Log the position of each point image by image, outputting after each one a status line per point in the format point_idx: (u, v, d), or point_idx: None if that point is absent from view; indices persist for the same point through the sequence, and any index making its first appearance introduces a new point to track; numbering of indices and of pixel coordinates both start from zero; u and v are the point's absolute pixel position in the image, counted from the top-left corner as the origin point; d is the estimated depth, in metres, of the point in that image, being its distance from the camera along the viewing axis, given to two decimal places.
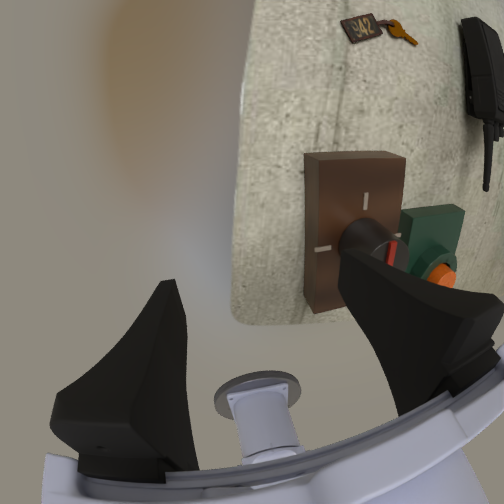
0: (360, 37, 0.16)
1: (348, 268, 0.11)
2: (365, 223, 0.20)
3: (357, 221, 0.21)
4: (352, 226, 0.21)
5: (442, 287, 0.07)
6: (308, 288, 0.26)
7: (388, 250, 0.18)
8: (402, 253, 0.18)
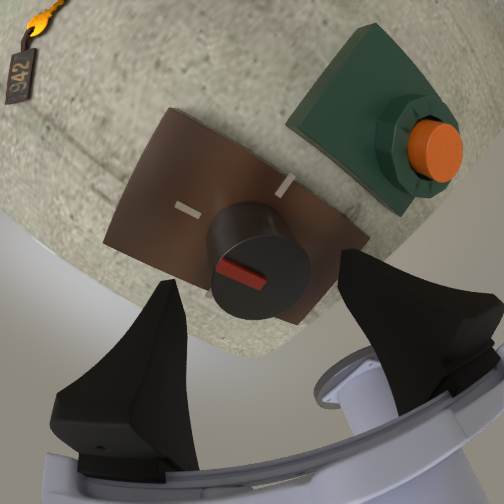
0: (27, 84, 0.10)
1: (348, 268, 0.11)
2: (209, 236, 0.14)
3: None
4: None
5: (442, 287, 0.07)
6: None
7: (231, 273, 0.11)
8: (262, 250, 0.11)
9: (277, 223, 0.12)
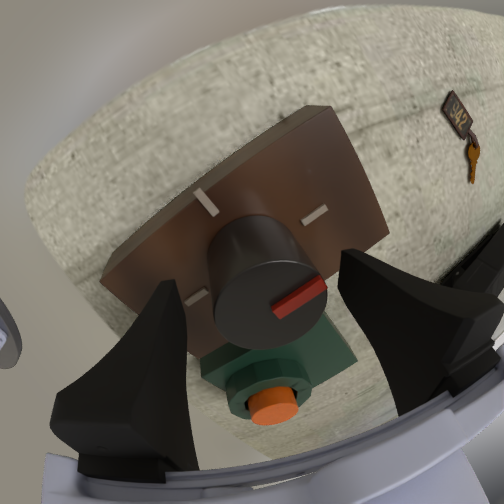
0: (450, 117, 0.14)
1: (348, 268, 0.11)
2: (291, 234, 0.12)
3: (281, 223, 0.13)
4: (271, 220, 0.12)
5: (442, 287, 0.07)
6: (126, 245, 0.14)
7: (302, 287, 0.10)
8: (308, 316, 0.11)
9: None
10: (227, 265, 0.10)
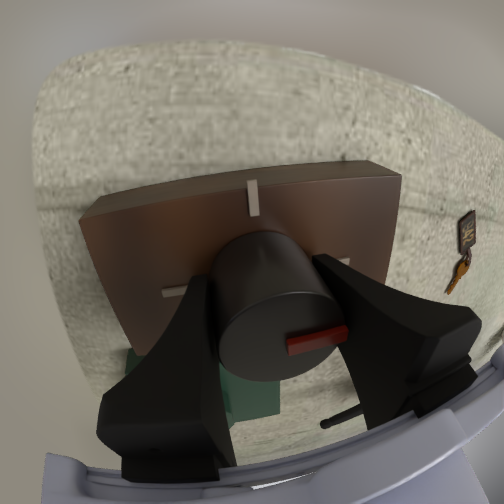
0: (461, 231, 0.17)
1: None
2: None
3: None
4: (302, 249, 0.11)
5: (412, 298, 0.07)
6: (126, 197, 0.11)
7: (325, 331, 0.09)
8: (308, 361, 0.09)
9: None
10: (265, 277, 0.08)
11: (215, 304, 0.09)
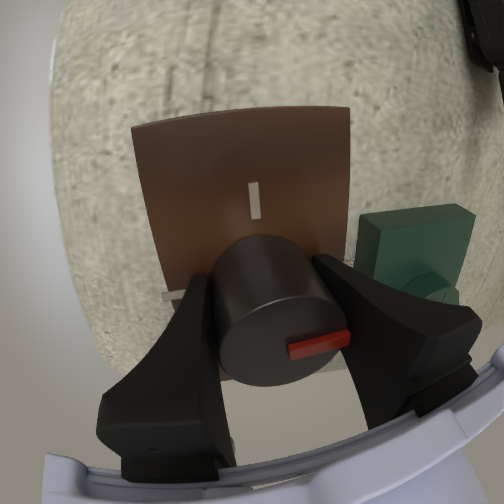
0: None
1: (319, 274, 0.11)
2: None
3: None
4: (303, 252, 0.11)
5: (413, 297, 0.07)
6: None
7: (327, 335, 0.09)
8: (309, 365, 0.09)
9: None
10: (266, 281, 0.08)
11: (216, 309, 0.09)
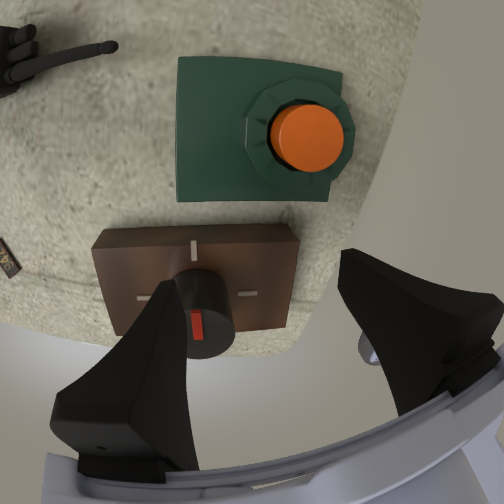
0: (12, 261, 0.17)
1: (348, 268, 0.11)
2: (188, 278, 0.17)
3: (183, 273, 0.18)
4: (175, 279, 0.18)
5: (442, 287, 0.07)
6: None
7: (192, 319, 0.15)
8: (219, 324, 0.15)
9: None
10: None
11: None
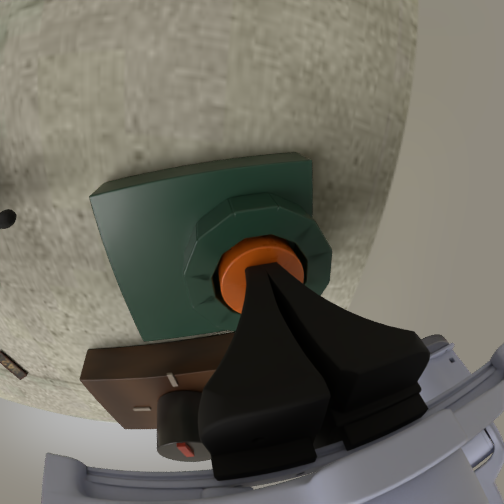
0: (18, 368, 0.17)
1: None
2: (172, 402, 0.16)
3: (168, 395, 0.16)
4: (162, 400, 0.16)
5: (352, 316, 0.07)
6: None
7: None
8: None
9: None
10: None
11: None
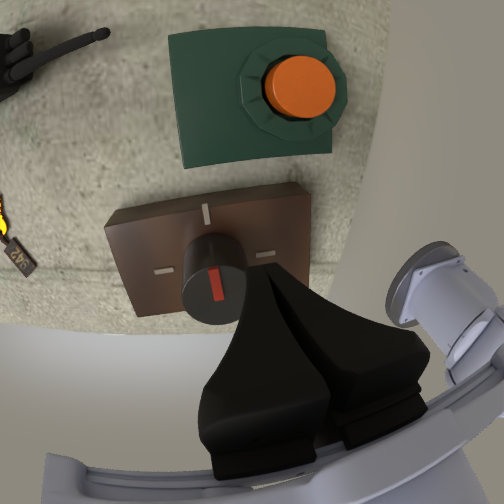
0: (28, 259, 0.19)
1: None
2: (203, 242, 0.17)
3: (198, 239, 0.18)
4: (190, 245, 0.18)
5: (352, 316, 0.07)
6: None
7: (211, 278, 0.15)
8: (239, 281, 0.15)
9: None
10: None
11: None
